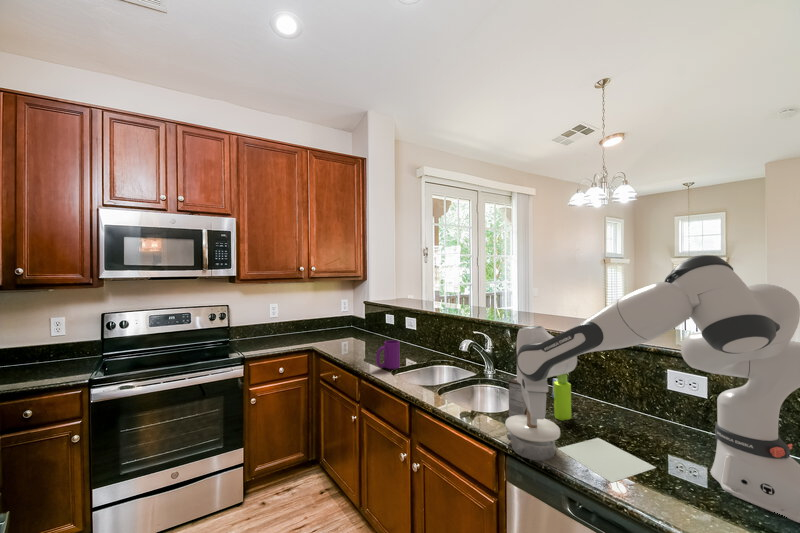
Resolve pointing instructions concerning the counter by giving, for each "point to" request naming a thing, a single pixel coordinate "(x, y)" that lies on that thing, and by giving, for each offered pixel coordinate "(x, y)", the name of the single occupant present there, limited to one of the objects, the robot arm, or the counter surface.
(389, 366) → the mug
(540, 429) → the lid
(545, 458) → the dish
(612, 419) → the counter surface
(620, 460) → the mat
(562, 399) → the soap dispenser
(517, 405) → the coffee box
